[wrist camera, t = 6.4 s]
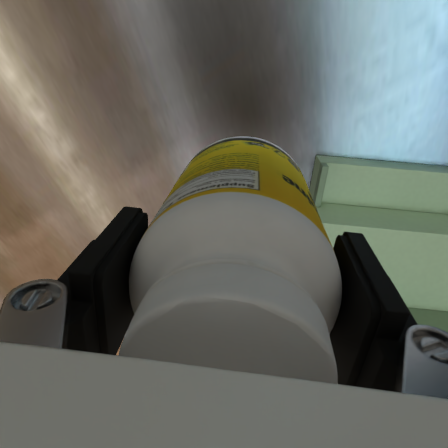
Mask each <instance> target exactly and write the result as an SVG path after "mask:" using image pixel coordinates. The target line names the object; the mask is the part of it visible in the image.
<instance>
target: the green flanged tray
mask: <svg viewBox="0 0 448 448" xmlns="http://www.w3.org/2000/svg"><path fill="white" fill-rule="evenodd" d="M309 191H310V194H311V196H312V199H313V201H314V203H315V206H316V208H317V211H318V214H319V216H320V219H321V221H322V224H323V226H324V229H325V231H326V233H327V235H328V238H329V240H330V242H331V245H332V247H334V244H335V240H336V237H337V236H338V235H342V234H343V233H344V232H354V233H362V234H363V235H364V237H365V238H366V240H367V242H368V243H369V245H370V247H371V248H372V250H373V252H374V254H375V255H376V257H377V259H378V260H379V262H380V264H381V265H382V267H383V269H384V270H385V272H386V274H387V275H388V276H389V277H390V279H391V281H392V282H393V284H394V286H395V287H396V289H397V291H398V292H399V294H400V296H401V297H402V299H403V301H404V302H405V304H406V306H407V307H408V309H409V311H410V312H411V314H412V316H413V317H414V319H415V321H416V322H417V324H418V325H429V326H432V327H436V328H439V329H441V330H443V331H446V332H448V166H438V165H426V164H415V163H403V162H391V161H380V160H368V159H357V158H345V157H334V156H322V155H316V158H315V163H314V168H313V174H312V179H311V184H310V189H309Z"/></svg>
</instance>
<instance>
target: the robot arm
mask: <svg viewBox="0 0 448 448" xmlns="http://www.w3.org/2000/svg"><path fill="white" fill-rule="evenodd" d="M147 229H148V215H147V213H143V211H142V209H141V208H133V207H123V209H122V210H121V211H120V212H119V213H118V214H117V216H116V217H115V218H114V219H113V220H112V221H111V223H110V224H109V225H108V226H107V227H106V228H105V229H104V231H103V232H102V233H101V234H100V235H99V236H98V238H97V239H96V240H93V241H92V242H90V243H89V245H88V246H87V247H86V248H85V249H84V250H83V251H82V253H81V254H80V255H79V256H78V257H77V258H76V259H75V261H74V262H73V263H72V264H71V265H70V266H69V267H68V268H67V270H66V271H65V272H64V273H63V274H62V275H61V276H60V278H59V279H58V280H53V279H39V280H33V281H29V282H27V283H24V284H21V285H19V286H18V287H16V288H14V289H13V290H12V291H10V292H9V293H8V294H7V296H6V297H5V299H4V301H3V304H2V307H1V309H0V448H448V332H446V331H443V330H441V329H439V328H436V327H432V326H429V325H418V324H417V322H416V321H415V319H414V317H413V316H412V314H411V312H410V311H409V309H408V307H407V306H406V304H405V302H404V301H403V299H402V297H401V296H400V294H399V292H398V291H397V289H396V287H395V286H394V284H393V282H392V281H391V279H390V277H389V276H388V275H387V274H386V272H385V270H384V269H383V267H382V265H381V264H380V262H379V260H378V259H377V257H376V255H375V254H374V252H373V250H372V248H371V247H370V245H369V243H368V242H367V240H366V238H365V237H364V235H363V234H362V233H354V232H344V233H343V234H342V235H338V236H337V237H336V240H335V244H334V247H333V250H334V252H335V255H336V258H337V261H338V265H339V269H340V273H341V279H342V299H341V306H340V310H339V313H338V316H337V319H336V322H335V324H334V327H333V329H332V330H331V332H330V340H331V344H332V348H333V352H334V356H335V360H336V365H337V373H338V384H333V383H326V382H318V381H310V380H303V379H295V378H287V377H280V376H272V375H264V374H256V373H249V372H241V371H233V370H226V369H218V368H210V367H202V366H195V365H187V364H179V363H172V362H164V361H156V360H149V359H141V358H133V357H125V356H117V355H116V353H117V351H118V349H119V347H120V345H121V343H122V340H123V338H124V336H125V334H126V332H127V330H128V327H129V325H130V323H131V320H132V318H133V316H134V312H133V309H132V306H131V301H130V296H129V272H130V266H131V262H132V259H133V256H134V253H135V251H136V249H137V247H138V244H139V242H140V240H141V239H142V237H143V235H144V233H145V232H146V230H147Z"/></svg>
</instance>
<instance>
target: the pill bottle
mask: <svg viewBox="0 0 448 448" xmlns="http://www.w3.org/2000/svg"><path fill="white" fill-rule="evenodd" d="M129 296H130V301H131V306H132V309H133V312H134V316H133V318H132V320H131V323H130V325H129V328H128V330H127V332H126V335H125V337H124V340H123V342H122V344H121V348H120V352H119V356H125V357H133V358H141V359H149V360H156V361H164V362H172V363H179V364H187V365H195V366H202V367H210V368H218V369H226V370H233V371H241V372H249V373H256V374H264V375H272V376H280V377H287V378H295V379H303V380H310V381H318V382H326V383H333V384H338V373H337V365H336V360H335V356H334V352H333V348H332V344H331V340H330V332H331V330H332V329H333V327H334V324H335V322H336V319H337V316H338V313H339V310H340V306H341V299H342V279H341V273H340V269H339V265H338V261H337V258H336V255H335V252H334V250H333V247H332V245H331V242H330V240H329V238H328V235H327V233H326V231H325V229H324V226H323V224H322V221H321V219H320V216H319V214H318V211H317V208H316V206H315V203H314V201H313V199H312V196H311V194H310V191H309V189H308V186H307V184H306V181H305V179H304V177H303V175H302V173H301V171H300V169H299V167H298V165H297V164H296V162H295V161H294V160H293V159H292V158H291V157H290V155H288V154H287V153H286V152H285V151H284V150H283V149H281V148H280V147H278V146H277V145H275V144H273V143H271V142H269V141H266V140H264V139H260V138H256V137H246V136H238V137H229V138H225V139H222V140H219V141H216V142H214V143H212V144H210V145H208V146H207V147H205V148H204V149H202V150H201V151H200V152H199V153H198V154H197V155H196V156H195V157H194V158H193V159H192V160H191V162H190V163H189V164H188V165H187V167H186V168H185V170H184V171H183V173H182V174H181V176H180V177H179V179H178V181H177V182H176V184H175V186H174V187H173V189H172V190H171V192H170V194H169V195H168V197H167V199H166V200H165V201H164V203H163V205H162V206H161V208H160V210H159V211H158V213H157V214H156V216H155V218H154V219H153V221H152V222H151V224H150V225H149V227H148V229H147V230H146V232H145V233H144V235H143V237H142V239H141V240H140V242H139V244H138V247H137V249H136V251H135V253H134V256H133V259H132V262H131V266H130V272H129Z"/></svg>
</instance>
